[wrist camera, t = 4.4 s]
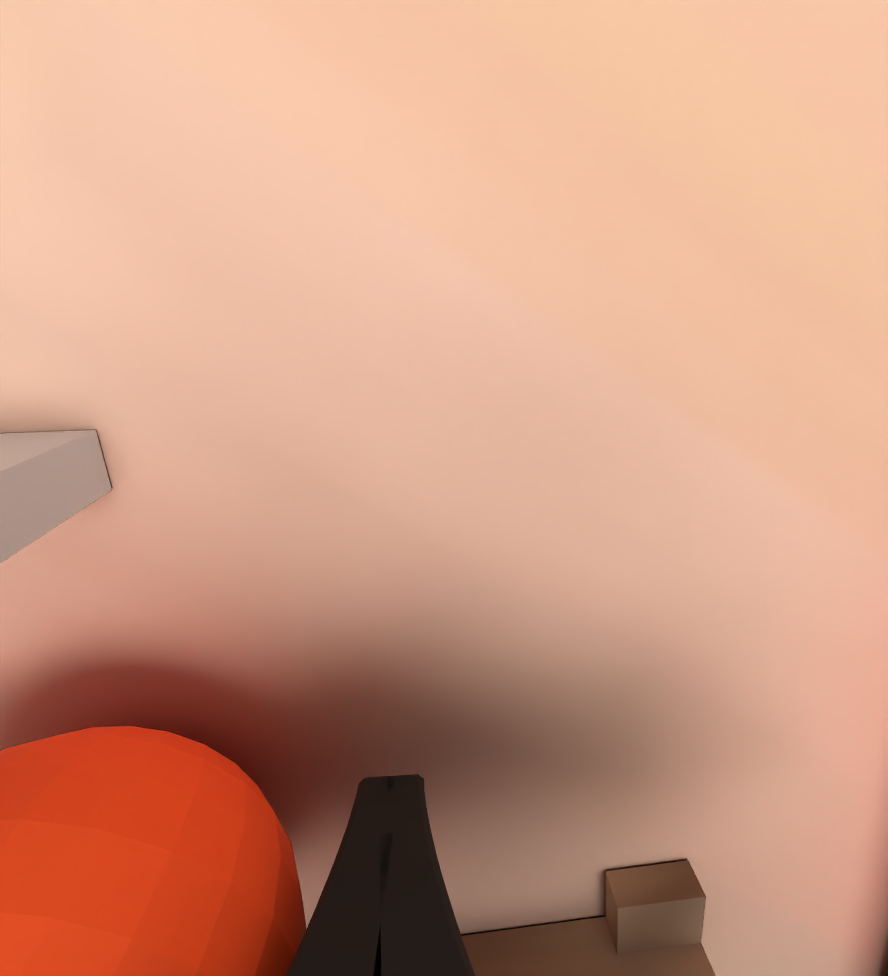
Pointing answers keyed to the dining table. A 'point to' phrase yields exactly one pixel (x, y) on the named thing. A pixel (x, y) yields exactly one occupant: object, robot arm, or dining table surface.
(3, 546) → the corral
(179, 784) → the orange-red tomato
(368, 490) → the dining table surface
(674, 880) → the screen
